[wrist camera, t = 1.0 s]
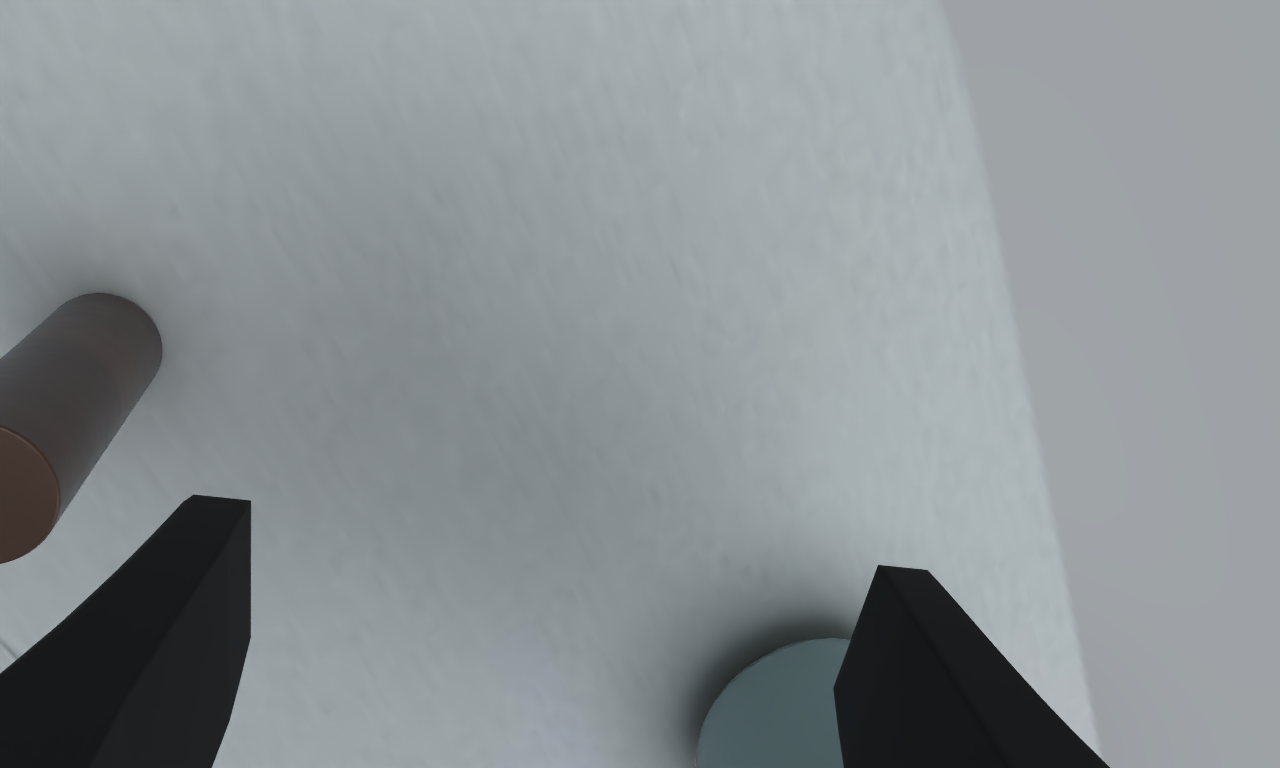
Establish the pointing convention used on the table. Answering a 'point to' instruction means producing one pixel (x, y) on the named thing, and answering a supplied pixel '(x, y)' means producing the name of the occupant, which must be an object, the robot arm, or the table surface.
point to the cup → (778, 711)
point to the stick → (66, 408)
